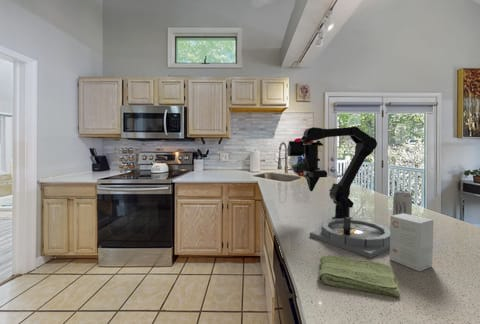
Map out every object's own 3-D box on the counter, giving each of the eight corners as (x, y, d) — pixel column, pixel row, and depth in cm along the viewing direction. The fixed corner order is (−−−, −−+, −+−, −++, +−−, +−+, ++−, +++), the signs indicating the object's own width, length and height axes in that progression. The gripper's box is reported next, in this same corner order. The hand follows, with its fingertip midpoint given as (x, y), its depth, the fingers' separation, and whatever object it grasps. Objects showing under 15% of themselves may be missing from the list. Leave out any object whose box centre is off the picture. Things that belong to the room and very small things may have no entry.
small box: (432, 266, 66) (434, 219, 66) (419, 272, 64) (420, 223, 63) (401, 255, 74) (403, 212, 73) (388, 259, 71) (389, 215, 70)
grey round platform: (343, 224, 102) (344, 214, 102) (402, 240, 84) (403, 228, 84) (309, 236, 90) (309, 224, 89) (370, 258, 72) (370, 244, 71)
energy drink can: (390, 230, 95) (392, 192, 94) (394, 226, 100) (395, 189, 99) (409, 233, 91) (410, 194, 90) (412, 229, 96) (413, 191, 95)
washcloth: (403, 302, 52) (404, 287, 52) (317, 286, 59) (317, 273, 58) (390, 272, 65) (390, 260, 64) (320, 261, 71) (320, 251, 71)
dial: (341, 223, 99) (341, 205, 98) (388, 233, 87) (388, 213, 86) (321, 234, 87) (322, 214, 87) (372, 247, 75) (373, 224, 75)
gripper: (287, 155, 116) (287, 188, 117) (301, 157, 98) (301, 195, 99) (309, 155, 118) (309, 187, 119) (328, 156, 99) (327, 194, 100)
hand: (311, 191), depth 109 cm, fingers closed
